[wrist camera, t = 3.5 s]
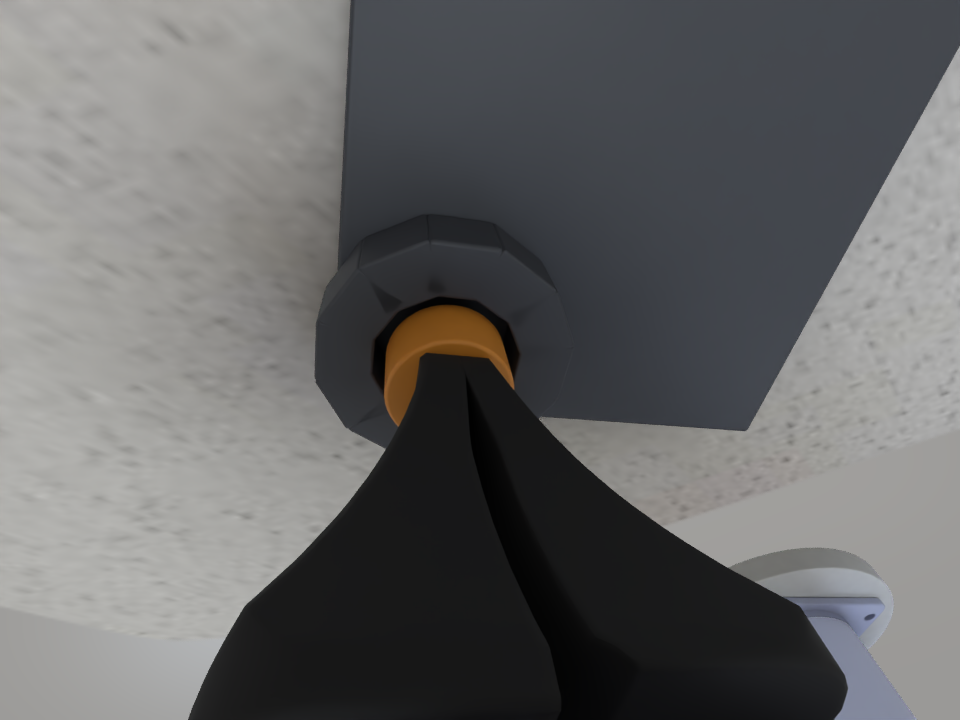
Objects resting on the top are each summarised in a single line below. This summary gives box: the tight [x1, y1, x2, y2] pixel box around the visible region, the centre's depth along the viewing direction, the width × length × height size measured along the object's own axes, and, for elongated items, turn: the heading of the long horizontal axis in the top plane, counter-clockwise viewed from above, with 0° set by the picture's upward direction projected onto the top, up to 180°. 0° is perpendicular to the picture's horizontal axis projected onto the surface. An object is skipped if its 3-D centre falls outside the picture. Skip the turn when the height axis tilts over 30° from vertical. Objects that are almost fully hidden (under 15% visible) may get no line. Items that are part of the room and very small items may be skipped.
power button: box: [384, 305, 514, 427], centre depth 12 cm, size 3×3×2 cm
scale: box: [315, 0, 960, 448], centre depth 12 cm, size 12×12×3 cm
